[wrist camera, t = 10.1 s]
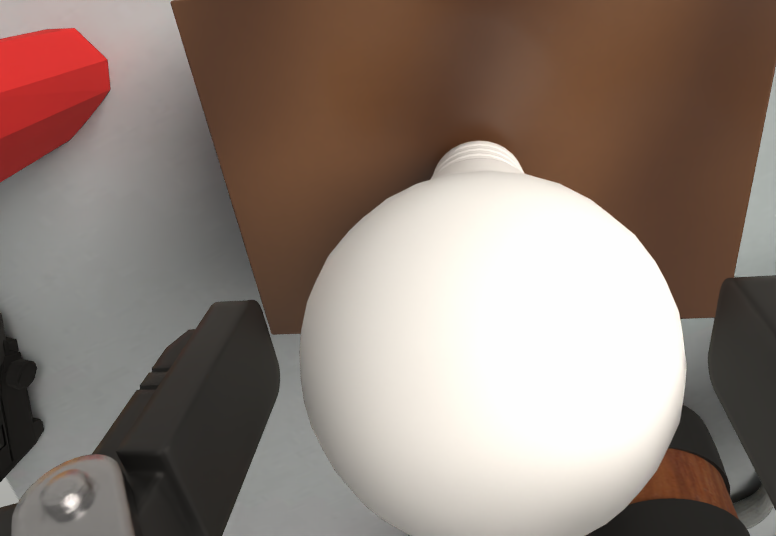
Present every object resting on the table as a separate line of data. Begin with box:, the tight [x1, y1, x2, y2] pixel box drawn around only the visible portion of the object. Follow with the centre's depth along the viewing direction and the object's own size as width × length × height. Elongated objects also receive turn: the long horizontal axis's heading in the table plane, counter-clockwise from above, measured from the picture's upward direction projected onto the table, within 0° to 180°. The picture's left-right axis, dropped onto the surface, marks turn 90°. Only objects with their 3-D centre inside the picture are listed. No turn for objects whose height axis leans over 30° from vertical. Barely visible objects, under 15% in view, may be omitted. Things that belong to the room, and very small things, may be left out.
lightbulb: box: [299, 141, 687, 536], centre depth 12 cm, size 6×6×11 cm
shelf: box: [171, 0, 776, 335], centre depth 21 cm, size 15×11×11 cm
